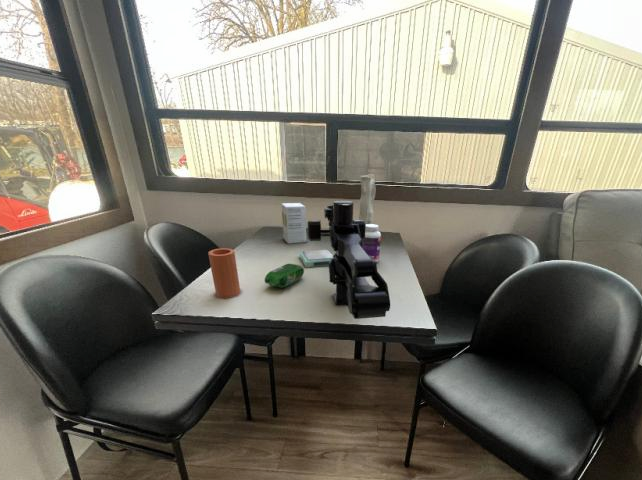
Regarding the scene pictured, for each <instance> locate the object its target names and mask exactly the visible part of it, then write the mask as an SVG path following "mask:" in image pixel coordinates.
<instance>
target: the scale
mask: <svg viewBox="0 0 642 480" xmlns="http://www.w3.org/2000/svg"><path fill="white" fill-rule="evenodd" d="M333 255H334V254H332V253H331V252H330V251H329V250H327V249H318V250H317V249H316V250H303V251H299V258H300V260H301V261H302V263H303V264H304V266H305V268H313V267H315V268H316V267H325V266H328V267H329V263H330V260H331V259H333Z"/></svg>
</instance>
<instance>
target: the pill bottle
mask: <svg viewBox="0 0 642 480" xmlns="http://www.w3.org/2000/svg"><path fill="white" fill-rule="evenodd" d="M381 239H382V234H381V232H380V231H379V225H378V224H366V231H365V238H364V239H363V240H362V249H363V250H364V251H365V252H366V253H367V255H368V256H369V257H370V258H371V259H372V260H375V261H376V263H378V262H379V261H380V253H381Z"/></svg>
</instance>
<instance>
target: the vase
mask: <svg viewBox="0 0 642 480" xmlns="http://www.w3.org/2000/svg"><path fill="white" fill-rule="evenodd" d="M375 176H376V175H374V174H373V173H369V174H366V175H360V177H359V178H360V185H361V186H360V187H361V195H360V198H359V204H358V205H359V206H358V207H359V209H358V210H359V211H358V212H359V213H358V220H363V221H364V222H365V223H366V224H375V216H374V201H375V198H376V192H377V187H376V183H375ZM375 225H376V224H375Z"/></svg>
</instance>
